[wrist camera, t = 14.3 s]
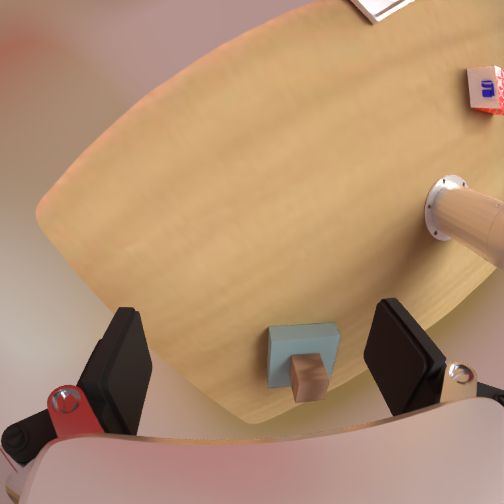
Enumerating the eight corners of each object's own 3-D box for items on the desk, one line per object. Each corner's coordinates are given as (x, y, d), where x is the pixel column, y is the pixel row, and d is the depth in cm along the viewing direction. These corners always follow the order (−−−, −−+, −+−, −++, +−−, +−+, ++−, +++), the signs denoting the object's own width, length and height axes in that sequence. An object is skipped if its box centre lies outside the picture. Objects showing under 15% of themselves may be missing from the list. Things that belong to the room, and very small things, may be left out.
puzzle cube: (493, 114, 37) (521, 117, 30) (470, 107, 37) (499, 108, 29) (490, 77, 34) (517, 76, 27) (466, 68, 34) (494, 64, 26)
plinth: (334, 322, 51) (340, 335, 47) (324, 368, 55) (329, 381, 52) (268, 326, 50) (271, 340, 46) (266, 373, 55) (268, 388, 51)
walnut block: (319, 352, 48) (329, 380, 42) (315, 371, 50) (324, 399, 44) (291, 354, 48) (299, 383, 41) (288, 374, 50) (295, 402, 43)
